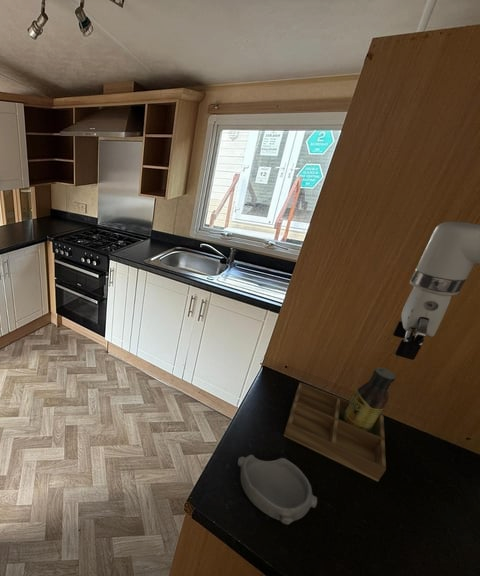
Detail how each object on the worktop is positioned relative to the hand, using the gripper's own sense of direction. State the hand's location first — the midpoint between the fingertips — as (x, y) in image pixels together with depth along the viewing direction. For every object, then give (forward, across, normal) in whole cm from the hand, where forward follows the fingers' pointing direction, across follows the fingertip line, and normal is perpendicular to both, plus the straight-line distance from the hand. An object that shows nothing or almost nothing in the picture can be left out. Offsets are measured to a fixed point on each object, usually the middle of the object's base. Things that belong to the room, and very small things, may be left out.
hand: (402, 346), depth 74 cm
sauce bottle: (+28, 0, +1) cm, 28 cm away
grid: (+29, -5, +6) cm, 30 cm away
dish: (+29, -33, +15) cm, 46 cm away
